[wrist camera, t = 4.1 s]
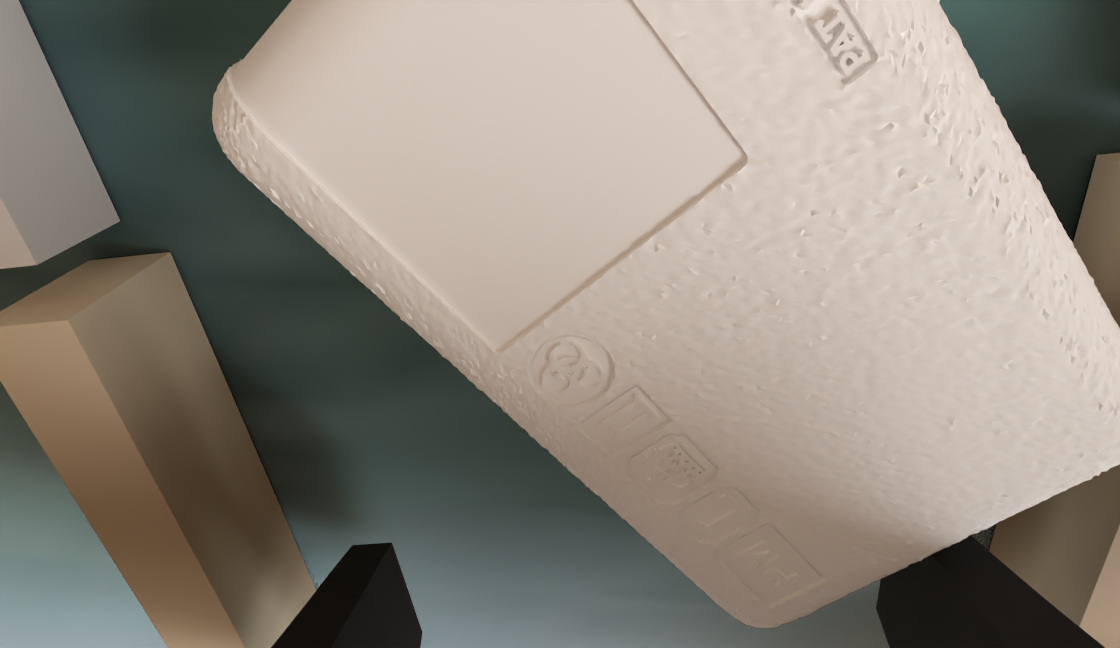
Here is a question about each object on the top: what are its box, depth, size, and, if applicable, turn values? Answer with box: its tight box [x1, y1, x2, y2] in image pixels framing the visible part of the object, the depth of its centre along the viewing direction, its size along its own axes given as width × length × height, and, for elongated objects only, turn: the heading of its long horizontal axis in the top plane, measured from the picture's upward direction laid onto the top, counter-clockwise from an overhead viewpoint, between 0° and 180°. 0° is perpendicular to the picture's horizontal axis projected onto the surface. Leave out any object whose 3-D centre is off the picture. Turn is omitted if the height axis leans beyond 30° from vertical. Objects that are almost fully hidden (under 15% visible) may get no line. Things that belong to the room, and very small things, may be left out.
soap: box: [212, 0, 1120, 628], centre depth 7 cm, size 9×6×3 cm, turn 41°
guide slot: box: [0, 153, 1120, 648], centre depth 9 cm, size 7×14×2 cm, turn 97°
